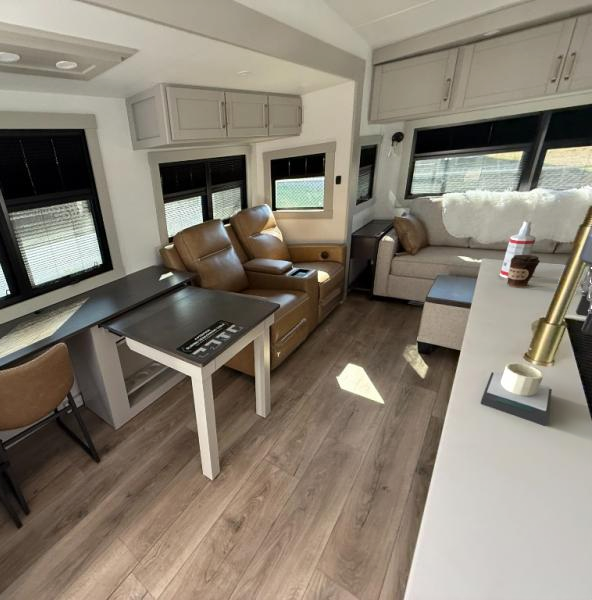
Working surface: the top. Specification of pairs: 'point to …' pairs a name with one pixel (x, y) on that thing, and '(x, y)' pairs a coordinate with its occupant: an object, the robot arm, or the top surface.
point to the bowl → (521, 379)
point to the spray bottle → (518, 247)
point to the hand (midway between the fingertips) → (587, 324)
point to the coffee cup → (522, 270)
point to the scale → (517, 401)
